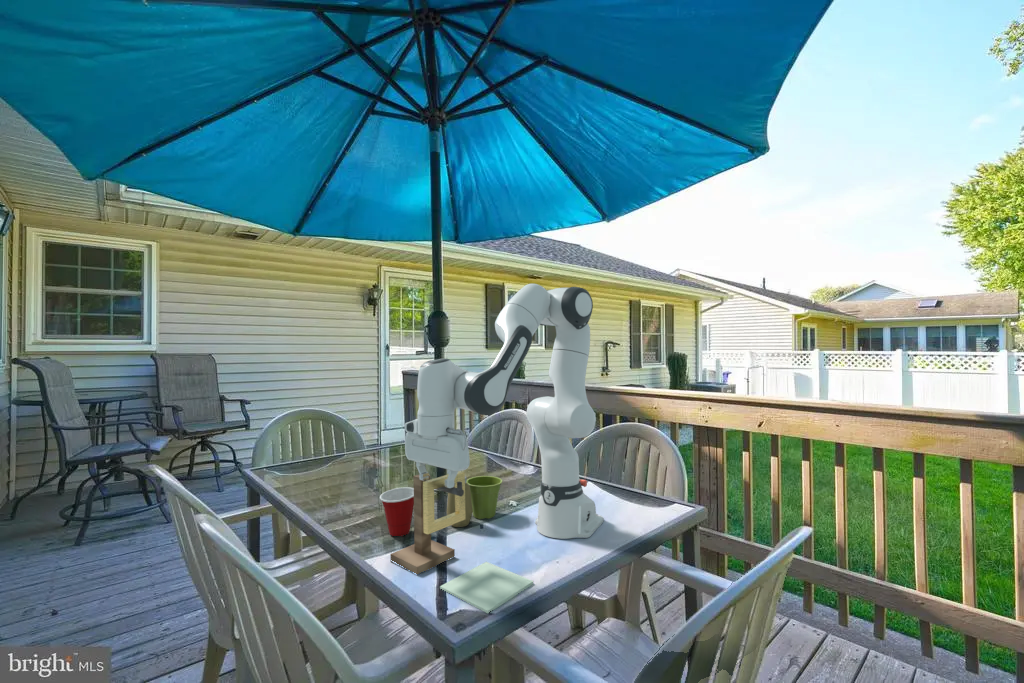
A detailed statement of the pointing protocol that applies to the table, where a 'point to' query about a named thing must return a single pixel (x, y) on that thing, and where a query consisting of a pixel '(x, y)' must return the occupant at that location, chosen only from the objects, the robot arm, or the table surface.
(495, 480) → the plant pot
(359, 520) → the table surface
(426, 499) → the yellow picture frame
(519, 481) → the table surface
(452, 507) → the squeeze bottle
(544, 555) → the table surface
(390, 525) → the plastic cup
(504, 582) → the sage mat
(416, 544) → the hook stand
